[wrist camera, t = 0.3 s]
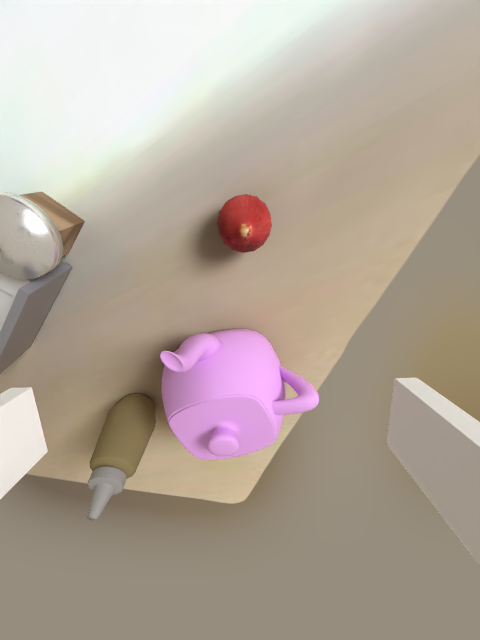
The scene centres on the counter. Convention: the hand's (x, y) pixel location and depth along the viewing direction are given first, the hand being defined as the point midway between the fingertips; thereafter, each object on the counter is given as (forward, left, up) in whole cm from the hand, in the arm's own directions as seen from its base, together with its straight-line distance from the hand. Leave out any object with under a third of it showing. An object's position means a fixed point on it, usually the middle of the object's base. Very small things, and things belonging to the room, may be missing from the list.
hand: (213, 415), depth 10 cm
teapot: (+16, +12, -27) cm, 34 cm away
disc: (+12, -17, -21) cm, 30 cm away
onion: (-3, 0, -27) cm, 27 cm away
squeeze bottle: (+34, +6, -27) cm, 44 cm away
